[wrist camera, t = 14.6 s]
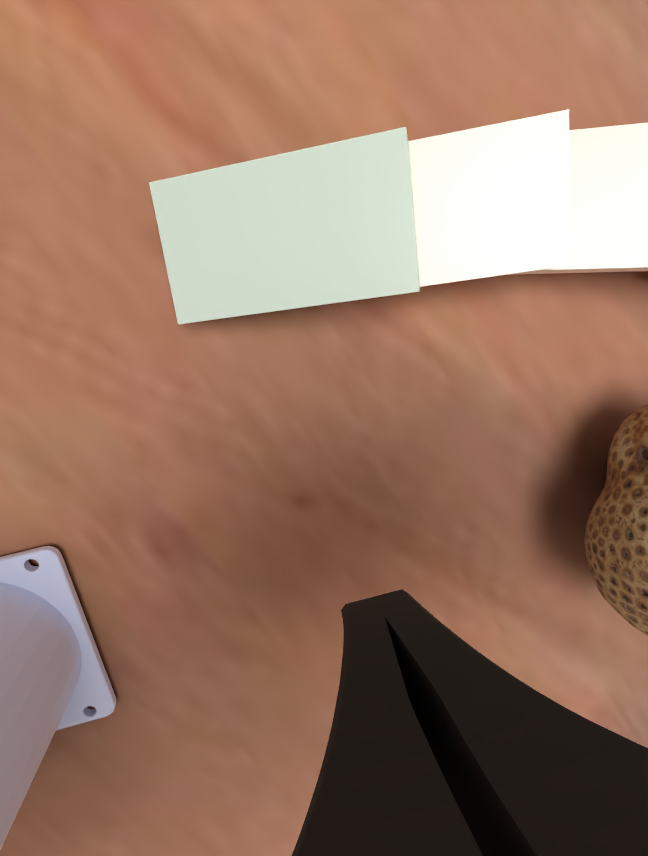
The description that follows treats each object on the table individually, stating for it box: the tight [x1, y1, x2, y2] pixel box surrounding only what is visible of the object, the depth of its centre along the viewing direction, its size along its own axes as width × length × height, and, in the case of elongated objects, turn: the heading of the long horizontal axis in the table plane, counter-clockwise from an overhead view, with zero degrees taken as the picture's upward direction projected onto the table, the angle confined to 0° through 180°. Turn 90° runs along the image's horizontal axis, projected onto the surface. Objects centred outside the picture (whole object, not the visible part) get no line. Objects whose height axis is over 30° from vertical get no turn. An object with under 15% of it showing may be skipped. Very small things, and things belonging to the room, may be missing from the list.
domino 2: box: [408, 109, 570, 287], centre depth 16 cm, size 2×4×8 cm
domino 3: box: [508, 123, 648, 275], centre depth 17 cm, size 2×4×8 cm
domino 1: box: [149, 127, 420, 324], centre depth 16 cm, size 2×4×8 cm
